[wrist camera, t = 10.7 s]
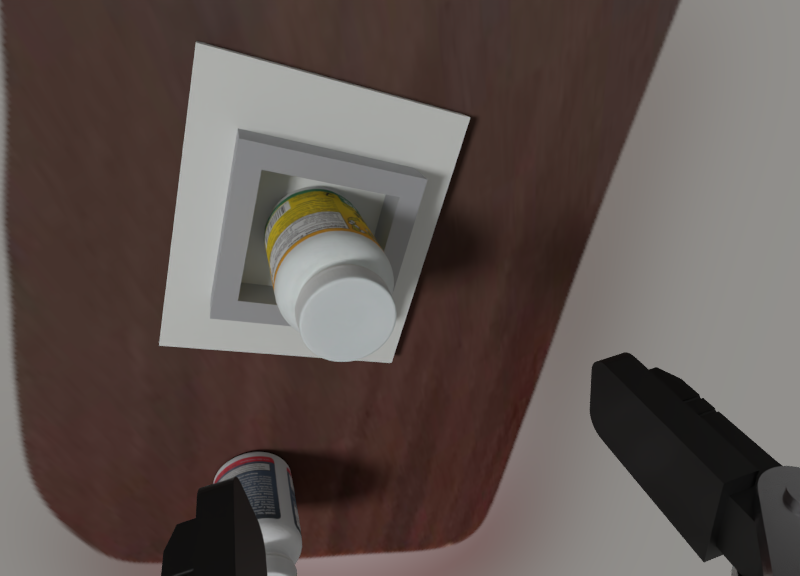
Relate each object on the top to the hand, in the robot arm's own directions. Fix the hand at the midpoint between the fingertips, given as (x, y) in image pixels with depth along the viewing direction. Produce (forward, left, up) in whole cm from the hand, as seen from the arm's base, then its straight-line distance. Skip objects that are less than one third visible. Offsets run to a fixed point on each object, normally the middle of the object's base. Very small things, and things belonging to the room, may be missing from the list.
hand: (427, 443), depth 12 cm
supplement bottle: (+3, +1, -20) cm, 20 cm away
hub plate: (+3, +1, -21) cm, 21 cm away
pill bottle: (+22, +1, -21) cm, 30 cm away
